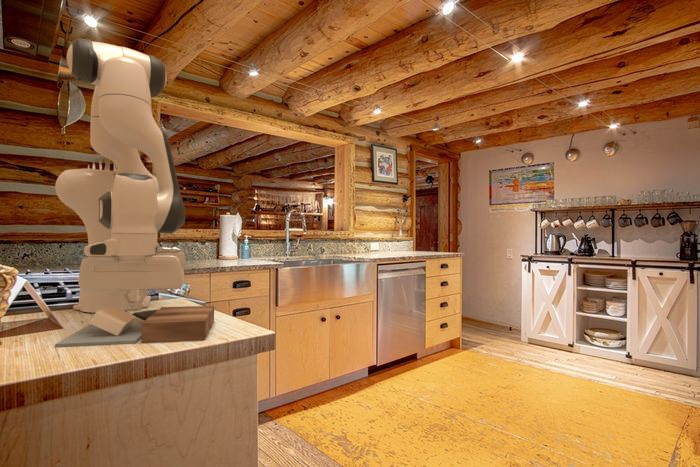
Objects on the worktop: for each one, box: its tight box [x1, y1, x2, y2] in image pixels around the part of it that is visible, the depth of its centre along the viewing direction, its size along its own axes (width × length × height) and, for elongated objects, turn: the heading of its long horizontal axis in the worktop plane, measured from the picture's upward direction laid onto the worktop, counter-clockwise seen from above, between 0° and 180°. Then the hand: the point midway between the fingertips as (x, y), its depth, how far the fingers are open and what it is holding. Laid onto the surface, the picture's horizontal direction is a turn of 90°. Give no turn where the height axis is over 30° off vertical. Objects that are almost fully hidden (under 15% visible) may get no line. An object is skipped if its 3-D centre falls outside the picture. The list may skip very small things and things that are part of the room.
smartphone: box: [132, 309, 159, 321], centre depth 98 cm, size 7×1×15 cm
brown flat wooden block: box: [140, 305, 215, 344], centre depth 85 cm, size 16×12×4 cm
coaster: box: [88, 305, 137, 336], centre depth 82 cm, size 8×6×2 cm
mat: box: [54, 322, 142, 348], centre depth 81 cm, size 15×14×1 cm
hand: (133, 310), depth 83 cm, fingers closed
